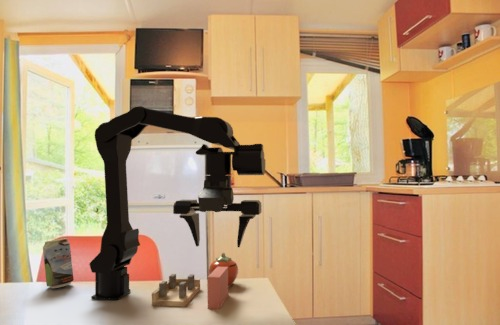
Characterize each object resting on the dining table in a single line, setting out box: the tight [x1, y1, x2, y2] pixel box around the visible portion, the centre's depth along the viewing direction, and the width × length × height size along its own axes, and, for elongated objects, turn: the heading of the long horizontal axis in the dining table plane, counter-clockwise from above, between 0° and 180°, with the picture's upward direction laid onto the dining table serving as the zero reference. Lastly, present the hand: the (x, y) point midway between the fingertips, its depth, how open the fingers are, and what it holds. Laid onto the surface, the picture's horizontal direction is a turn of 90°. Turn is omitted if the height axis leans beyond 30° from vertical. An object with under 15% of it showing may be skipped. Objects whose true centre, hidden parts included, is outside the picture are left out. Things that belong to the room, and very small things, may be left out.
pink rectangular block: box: [206, 267, 229, 310], centre depth 81 cm, size 9×2×6 cm, turn 172°
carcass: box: [151, 273, 201, 307], centre depth 85 cm, size 7×12×4 cm, turn 172°
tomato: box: [208, 252, 239, 287], centre depth 93 cm, size 7×7×8 cm
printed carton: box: [42, 237, 74, 289], centre depth 93 cm, size 6×7×12 cm
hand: (218, 246), depth 82 cm, fingers open, 9 cm apart
